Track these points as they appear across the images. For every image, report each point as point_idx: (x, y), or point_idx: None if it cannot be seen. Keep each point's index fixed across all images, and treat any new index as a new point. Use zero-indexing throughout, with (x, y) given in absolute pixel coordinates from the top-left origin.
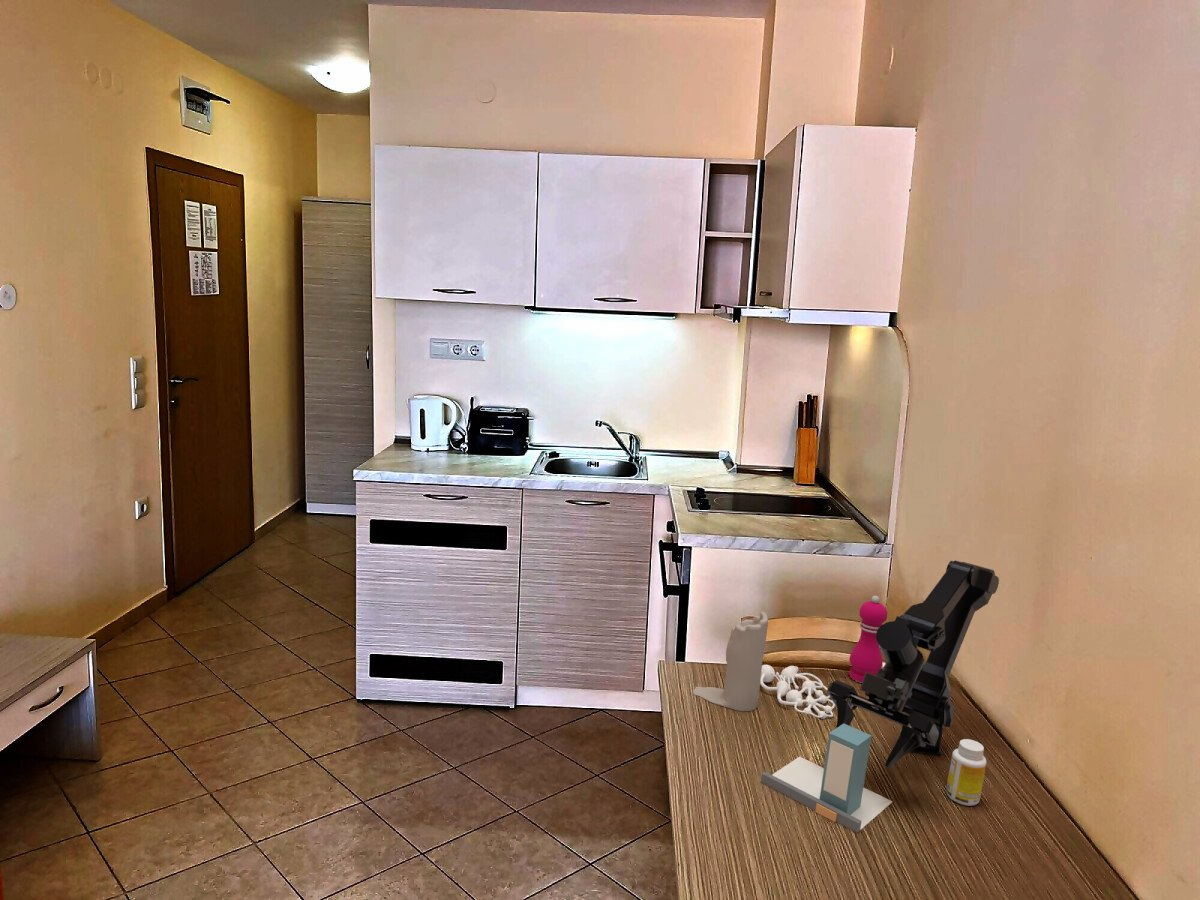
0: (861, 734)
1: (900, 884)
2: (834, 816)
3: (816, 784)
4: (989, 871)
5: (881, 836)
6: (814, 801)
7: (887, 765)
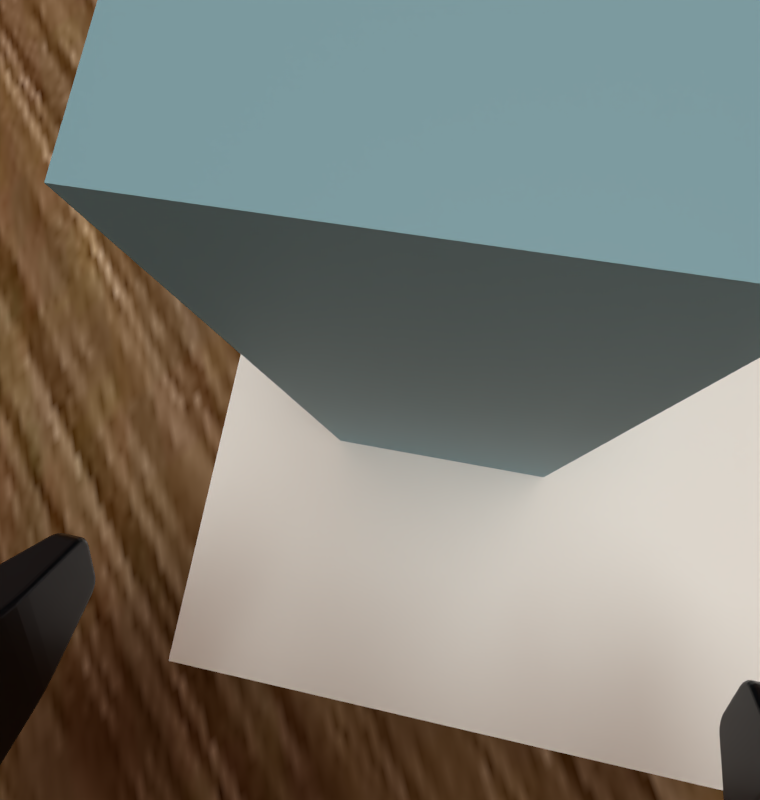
0: (268, 66)
1: (37, 6)
2: None
3: (683, 509)
4: None
5: (183, 306)
6: None
7: (54, 534)
